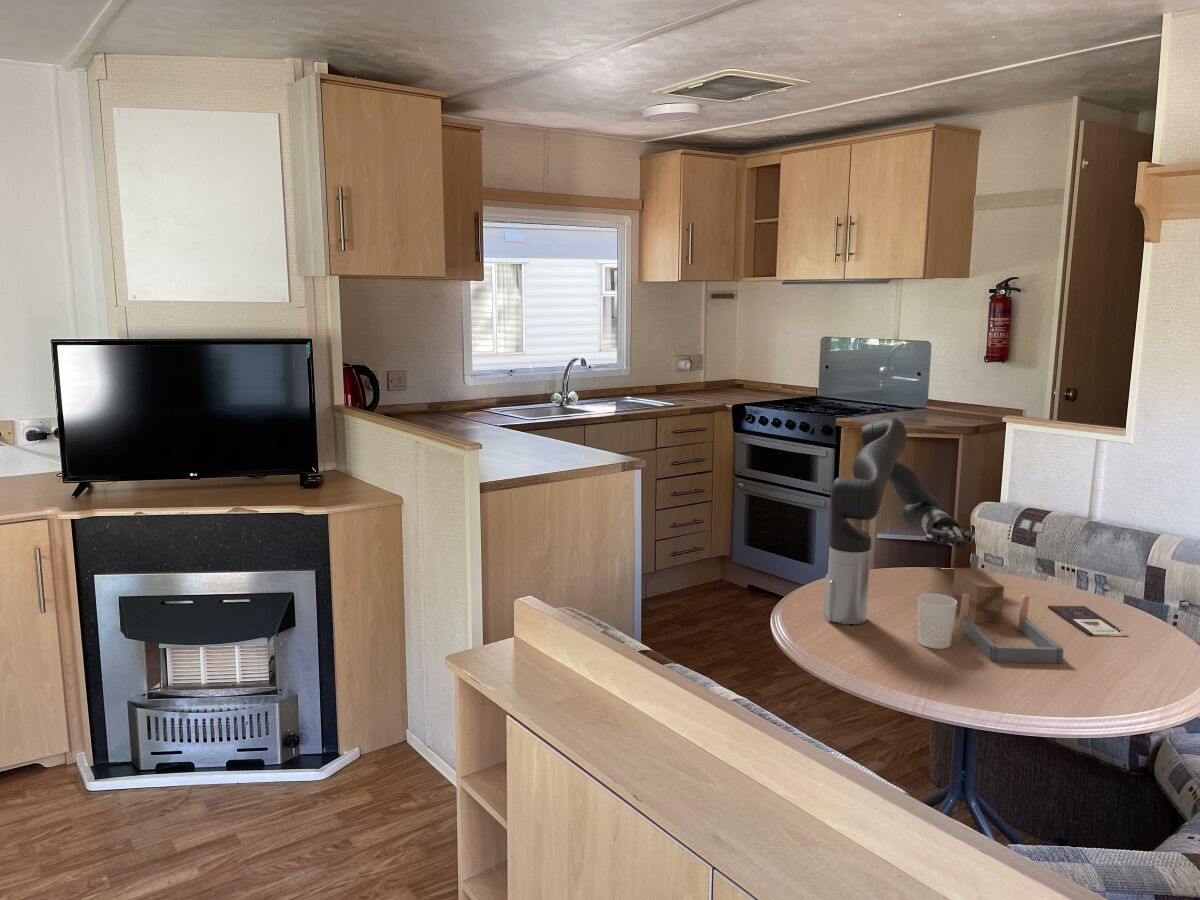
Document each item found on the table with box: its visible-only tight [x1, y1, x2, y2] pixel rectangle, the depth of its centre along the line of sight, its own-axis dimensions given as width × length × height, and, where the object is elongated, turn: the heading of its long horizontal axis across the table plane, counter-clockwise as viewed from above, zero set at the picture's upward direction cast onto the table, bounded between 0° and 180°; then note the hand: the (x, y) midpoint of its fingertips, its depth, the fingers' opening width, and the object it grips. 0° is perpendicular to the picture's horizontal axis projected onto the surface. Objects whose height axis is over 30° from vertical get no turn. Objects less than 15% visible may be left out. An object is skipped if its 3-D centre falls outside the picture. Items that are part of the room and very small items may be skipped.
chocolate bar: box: [1047, 605, 1122, 636], centre depth 211 cm, size 9×1×18 cm
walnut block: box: [951, 567, 1005, 625], centre depth 215 cm, size 6×14×9 cm, turn 179°
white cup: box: [917, 593, 957, 650], centre depth 196 cm, size 8×8×10 cm
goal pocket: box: [958, 594, 1064, 664], centre depth 196 cm, size 15×19×8 cm
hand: (962, 545), depth 226 cm, fingers closed
